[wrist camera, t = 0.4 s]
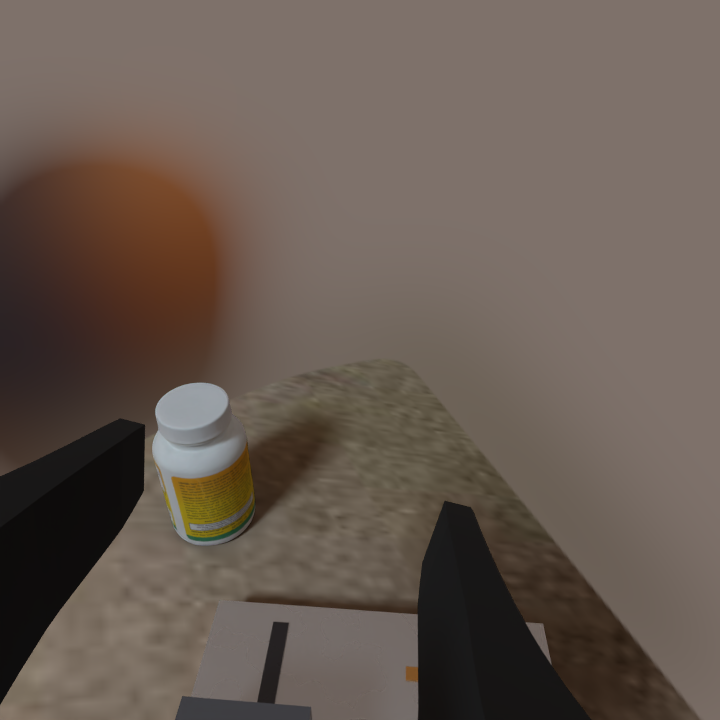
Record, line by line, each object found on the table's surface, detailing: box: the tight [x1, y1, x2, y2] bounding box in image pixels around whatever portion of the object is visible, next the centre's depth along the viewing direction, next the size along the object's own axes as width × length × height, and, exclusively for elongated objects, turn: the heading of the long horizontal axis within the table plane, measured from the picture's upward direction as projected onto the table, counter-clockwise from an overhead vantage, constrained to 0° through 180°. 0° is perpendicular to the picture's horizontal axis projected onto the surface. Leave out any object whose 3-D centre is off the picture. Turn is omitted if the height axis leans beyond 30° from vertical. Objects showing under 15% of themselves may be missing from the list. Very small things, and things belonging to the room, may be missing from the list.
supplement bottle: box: [152, 383, 255, 545], centre depth 33 cm, size 5×5×10 cm
